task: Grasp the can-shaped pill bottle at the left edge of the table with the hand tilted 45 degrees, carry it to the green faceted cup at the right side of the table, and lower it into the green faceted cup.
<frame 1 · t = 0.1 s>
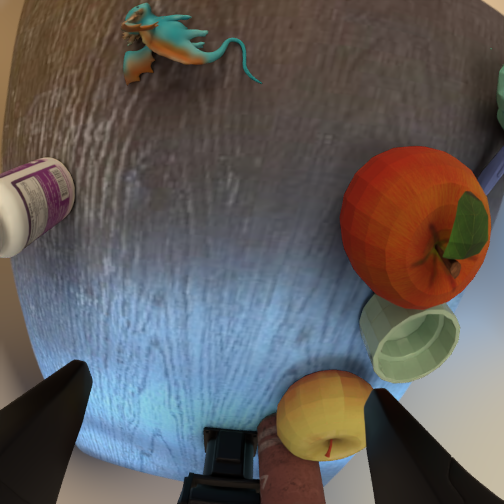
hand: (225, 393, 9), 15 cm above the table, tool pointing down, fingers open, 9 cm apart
toy tree: (434, 182, 21), on the table
apple: (323, 386, 29), on the table
dragon figurine: (184, 48, 17), on the table
fruit: (390, 203, 21), on the table
green faceted cup: (398, 311, 25), on the table
can: (284, 423, 32), on the table, touching arm
pill bottle: (52, 188, 21), on the table
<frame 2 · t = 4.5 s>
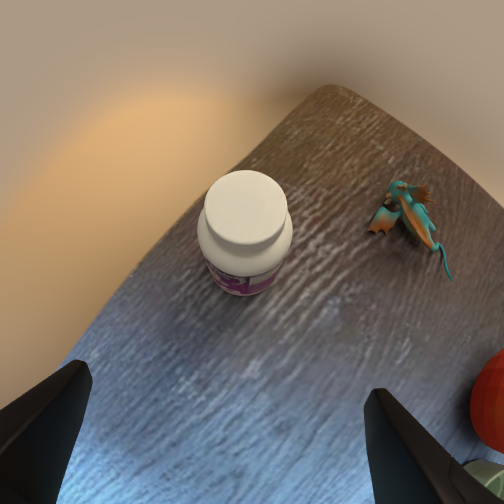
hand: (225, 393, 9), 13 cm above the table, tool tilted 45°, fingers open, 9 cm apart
dragon figurine: (408, 233, 26), on the table
fruit: (487, 397, 20), on the table
green faceted cup: (462, 492, 17), on the table
pill bottle: (243, 263, 24), on the table
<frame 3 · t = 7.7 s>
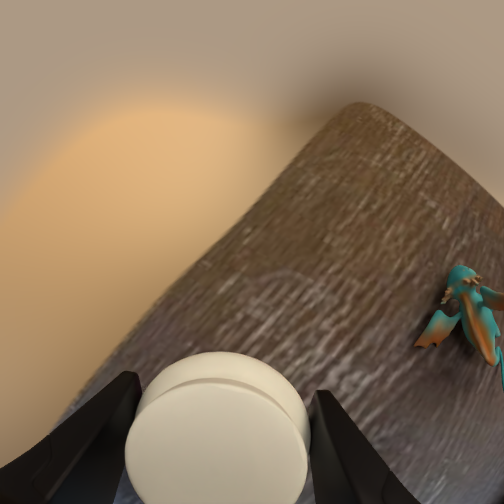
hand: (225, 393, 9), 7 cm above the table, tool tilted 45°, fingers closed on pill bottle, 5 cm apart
dragon figurine: (464, 336, 16), on the table
pill bottle: (229, 405, 15), on the table, touching gripper
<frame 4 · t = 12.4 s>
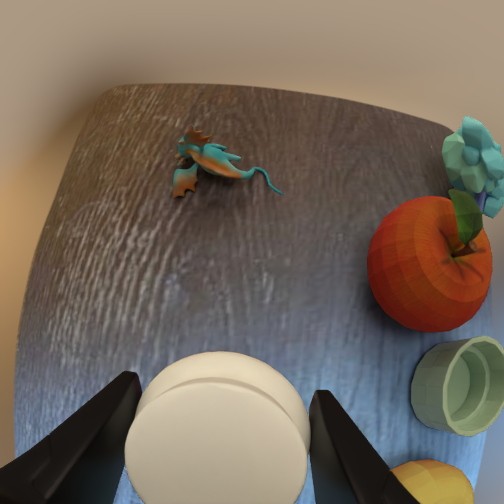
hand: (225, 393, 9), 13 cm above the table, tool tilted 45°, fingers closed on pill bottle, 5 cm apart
toy tree: (430, 270, 26), on the table
apple: (390, 499, 18), on the table
dragon figurine: (219, 176, 26), on the table
fruit: (403, 281, 24), on the table
green faceted cup: (443, 385, 21), on the table
pill bottle: (228, 405, 15), point 7 cm above the table, touching gripper
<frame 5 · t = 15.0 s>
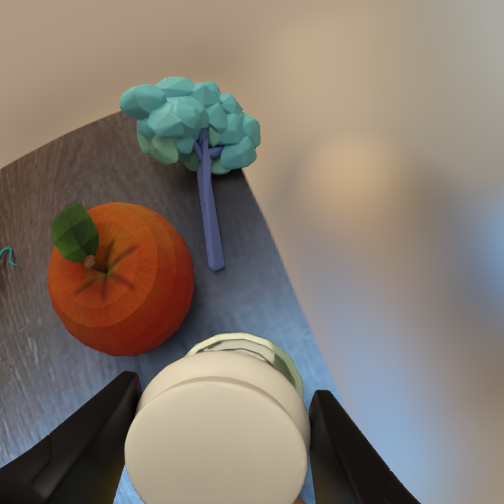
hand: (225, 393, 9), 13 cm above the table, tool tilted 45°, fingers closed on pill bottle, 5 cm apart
toy tree: (184, 266, 25), on the table
fruit: (141, 294, 23), on the table
green faceted cup: (237, 388, 21), on the table
pill bottle: (228, 405, 15), point 7 cm above the table, touching gripper
when the fingers open (9 cm above the table, at t = 16.9 s): pill bottle drops 2 cm, resting on green faceted cup.
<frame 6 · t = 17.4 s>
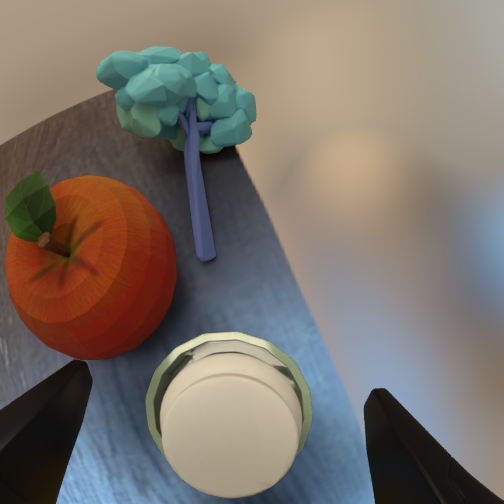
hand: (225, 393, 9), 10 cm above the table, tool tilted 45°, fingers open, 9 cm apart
toy tree: (170, 258, 21), on the table
fruit: (119, 289, 19), on the table
green faceted cup: (231, 399, 17), on the table
pill bottle: (232, 399, 17), resting on green faceted cup
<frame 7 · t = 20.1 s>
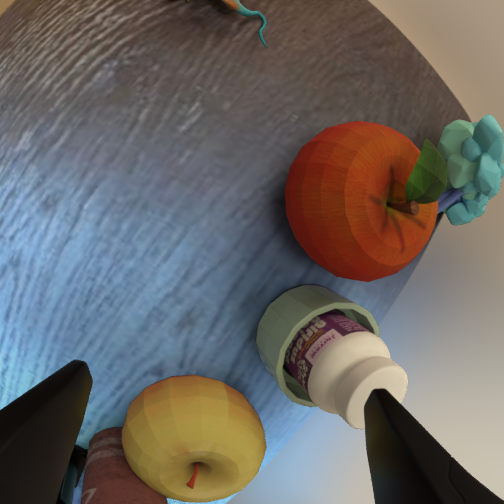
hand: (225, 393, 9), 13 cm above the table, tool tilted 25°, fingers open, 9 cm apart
toy tree: (358, 219, 25), on the table
apple: (187, 408, 22), on the table
dragon figurine: (221, 2, 18), on the table
fruit: (327, 201, 23), on the table
green faceted cup: (301, 330, 24), on the table
can: (125, 451, 21), on the table
pill bottle: (304, 332, 23), resting on green faceted cup
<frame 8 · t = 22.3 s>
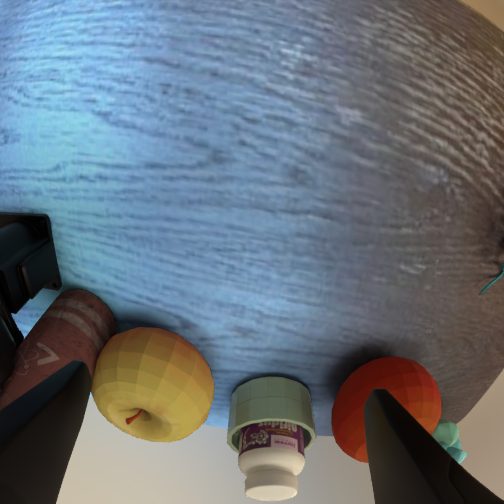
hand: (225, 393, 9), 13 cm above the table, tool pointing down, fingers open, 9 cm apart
toy tree: (363, 390, 29), on the table
apple: (163, 352, 26), on the table
fruit: (374, 375, 26), on the table
green faceted cup: (270, 398, 28), on the table
can: (87, 315, 24), on the table, touching arm
pill bottle: (271, 401, 27), resting on green faceted cup
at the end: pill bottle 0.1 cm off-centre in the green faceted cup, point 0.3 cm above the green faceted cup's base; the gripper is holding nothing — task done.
